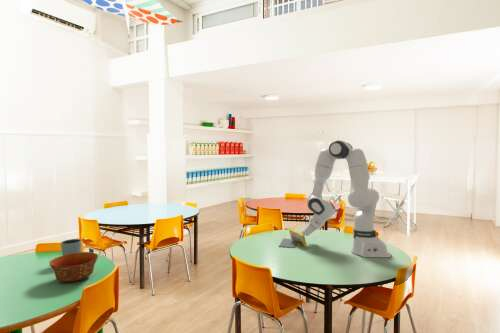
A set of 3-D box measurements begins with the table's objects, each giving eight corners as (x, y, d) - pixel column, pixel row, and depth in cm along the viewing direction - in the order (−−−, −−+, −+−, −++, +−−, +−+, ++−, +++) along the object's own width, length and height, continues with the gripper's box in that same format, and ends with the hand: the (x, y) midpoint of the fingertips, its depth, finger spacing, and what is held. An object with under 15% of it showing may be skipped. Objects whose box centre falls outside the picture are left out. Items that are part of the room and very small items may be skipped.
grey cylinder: (85, 261, 185) (85, 240, 185) (68, 266, 177) (67, 244, 176) (75, 258, 190) (74, 238, 190) (57, 263, 182) (56, 242, 181)
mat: (297, 239, 229) (297, 239, 229) (294, 247, 210) (294, 247, 210) (283, 239, 231) (283, 238, 231) (279, 246, 212) (279, 246, 212)
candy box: (291, 240, 226) (288, 229, 224) (293, 238, 227) (291, 228, 225) (304, 247, 211) (301, 235, 210) (307, 246, 212) (304, 234, 210)
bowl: (71, 290, 146) (71, 268, 145) (39, 283, 154) (38, 262, 153) (108, 274, 165) (107, 254, 165) (77, 268, 173) (76, 250, 173)
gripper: (313, 215, 226) (298, 228, 229) (311, 221, 207) (295, 235, 209) (319, 222, 226) (305, 235, 228) (318, 228, 206) (302, 243, 208)
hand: (300, 235), depth 219 cm, fingers closed
